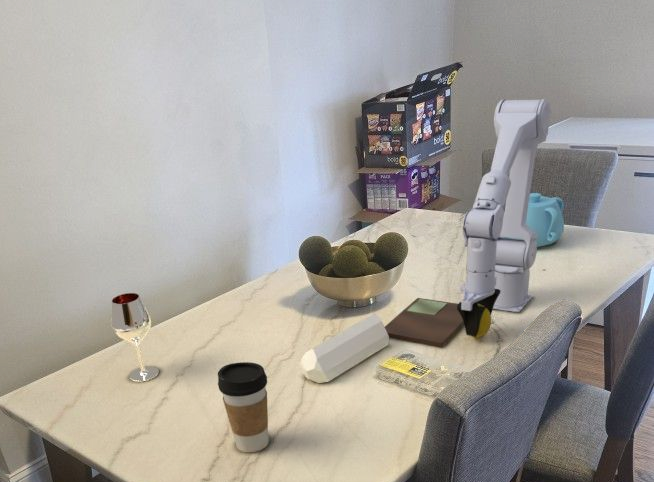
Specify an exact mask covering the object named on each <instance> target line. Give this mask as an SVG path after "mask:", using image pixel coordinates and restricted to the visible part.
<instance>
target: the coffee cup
mask: <svg viewBox="0 0 654 482" xmlns="http://www.w3.org/2000/svg"><path fill="white" fill-rule="evenodd" d="M267 385H268V376H267V374H266V372H265V369H264V367H263V366H262V365H261V364H259V363H256V362H248V361H243V362H233V363H229V364H226V365H224V366H221V368H219V370H218V372H217V386H218V390H219V391H220V393H222V402H223V405H224V408H225V411H226V415H227V418H228V422H229V424H230V429H231V431H232V435H233V438H234V442H235V446H236V448H237V449H238V450H239V451H240V452H244V453H257V452H260V451H262V450H263V449H266V447H267V446H268V444H269V442H270V441H269V439H270V437H269V414H268V391H267V388H266V386H267Z"/></svg>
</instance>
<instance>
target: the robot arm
mask: <svg viewBox="0 0 654 482" xmlns="http://www.w3.org/2000/svg"><path fill="white" fill-rule="evenodd" d="M551 113H552V111H551V103H550V102H549V99H548V98H542V99H500V101H498V103H497V105H496V106H495V110H494V114H493V127H494V132H495V136H496V138H497V141H496V145H495V150H494V152H493V153H494V154H493V159H492V162H491V166H490V171H489V172H487V173H485V174H484V175H483V176H482V178H481V181H480V183H479V187H478V190H477V194H476V196H475V199H474V202H473V206H472V208H471V209H470V210H469V209H468V210H467V211H466V213H465V214H464V217H463V222H462V235H463V238H464V247H466V258H465V259H466V261H465V262H466V263H465V284H462V285H460V287H459V291H461V292H463V299H462V300H461V301H460V302H458V303H457V304H458V305H457V310H458V311H459V313H460V315H461V317H462V319H463V322H464V325H463V327H464V326H465V327H464V331H465V335H466V336H469V337H472V336H477V334H478V330H479V325H480V320H481V317H482V314H483V312H484V310H485V309H486V308H487V309H488V311H489V312H490V316H491V317H492V313H493V310H498V311H504V312H505V311H506V312H512V313H520V312H521V311H522V310H523V308H524V307H526V305H527V304H528V303H529V301H530V300H531V299H532V298H533V295H531V294H529V288H530V287H529V286H530V277H531V276H530V274H531V272H530V269H531V267H533V265H534V263H535V261H536V258H537V253H538V252H537V251H538V247H537V245H536V244H537V234H536V233H535V232H534V231H533V230H532V229H531V228H530V227H529V226H528V225H527V224H526V218H527V211H528V204H529V197H530V194H531V188H532V181H533V175H534V167H535V163H536V154H537V150H538V147H539V145H540V144H542V143H544V142H547V137H548V134H549V127H550V122H551V121H550V120H551ZM503 217H504V221H503ZM501 237H507V238H501ZM508 238H519V239H523V240H519V239H508ZM478 304H480V305H482V306H484V307H481V306H478Z"/></svg>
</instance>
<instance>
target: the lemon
mask: <svg viewBox="0 0 654 482" xmlns="http://www.w3.org/2000/svg"><path fill="white" fill-rule="evenodd" d="M478 306H481V307H484V306H482V305H480V304H478ZM463 327H464V328H465V326H464V325H463ZM491 327H492V315H491V316H490V312H489V311H488V309H487V308H486V309H485V310H484V312H483V314H482V317H481V320H480V325H479V330H478V334H477V336H471V337H472V338H474V339H475V340H479V339H480V338H482V337H484V336H485V335H487V334H488V332H489V331H490V330H491Z"/></svg>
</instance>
